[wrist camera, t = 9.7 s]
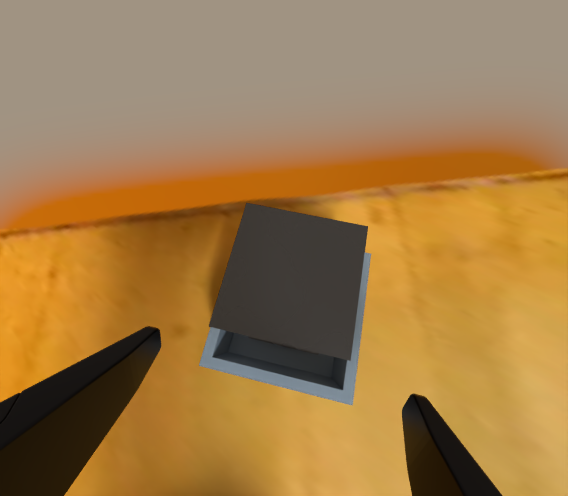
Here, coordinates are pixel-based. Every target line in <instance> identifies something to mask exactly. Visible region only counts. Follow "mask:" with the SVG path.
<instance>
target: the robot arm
mask: <svg viewBox="0 0 568 496" xmlns="http://www.w3.org/2000/svg"><path fill="white" fill-rule="evenodd" d="M160 348H161V337H160V330H159V329H158V328H154V327H150V326H148V327H145V328H143V329H141V330H139V331H137V332H135V333H133V334H131V335H130V336H128V337H126V338H124V339H122V340H120V341H118V342H116V343H114V344H112V345H110V346H108V347H106V348H104V349H103V350H101V351H99V352H97V353H95V354H93V355H91V356H89V357H87V358H85V359H83V360H81V361H79V362H77V363H76V364H74V365H72V366H70V367H68V368H66V369H64V370H62V371H60V372H58V373H56V374H54V375H52V376H50V377H49V378H47V379H45V380H43V381H41V382H39V383H37V384H35V385H33V386H31V387H29V388H27V389H25V390H23V391H22V392H21V393H17V394H16V395H14V396H12V397H10V398H8V399H6V400H4V401H2V402H0V496H64V495H65V494H66V492H67V491H68V489H69V488H70V486H71V485H72V484H73V482H74V481H75V479H76V478H77V476H78V475H79V473H80V472H81V471H82V469H83V468H84V466H85V465H86V463H87V462H88V461H89V459H90V458H91V456H92V455H93V453H94V452H95V450H96V449H97V448H98V446H99V445H100V443H101V442H102V440H103V439H104V438H105V436H106V435H107V433H108V432H109V430H110V429H111V427H112V426H113V425H114V423H115V422H116V420H117V419H118V417H119V416H120V414H121V413H122V412H123V410H124V409H125V407H126V406H127V404H128V403H129V402H130V400H131V399H132V397H133V396H134V394H135V393H136V391H137V389H138V388H139V386H140V384H141V383H142V381H143V379H144V377H145V375H146V374H147V372H148V370H149V368H150V367H151V365H152V363H153V361H154V360H155V358H156V356H157V354H158V352H159V351H160ZM402 421H403V431H404V442H405V452H406V462H407V470H408V475H409V481H410V486H411V491H412V496H502V494H501V493H500V492H499V491H498V489H497V488H496V487H495V485H494V484H493V483H492V482H491V480H490V479H489V478H488V476H487V475H486V474H485V473H484V471H483V470H482V469H481V467H480V466H479V465H478V464H477V462H476V461H475V460H474V458H473V457H472V456H471V454H470V453H469V452H468V451H467V449H466V448H465V447H464V445H463V444H462V443H461V442H460V440H459V439H458V438H457V436H456V435H455V434H454V433H453V431H452V430H451V429H450V427H449V426H448V425H447V424H446V422H445V421H444V420H443V418H442V417H441V416H440V415H439V413H438V412H437V411H436V409H435V408H434V407H433V406H432V404H431V403H430V402H429V400H428V399H427V398H426V397H424V396H421V395H417V394H411V395H410V397H409V398H408V400H407V402H406V403H405V405H404V407H403V409H402Z"/></svg>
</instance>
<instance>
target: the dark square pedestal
mask: <svg viewBox="0 0 568 496" xmlns="http://www.w3.org/2000/svg"><path fill="white" fill-rule="evenodd" d="M367 231H368V226H363V225H358V224H353V223H348V222H342V221H337V220H332V219H327V218H322V217H317V216H312V215H306V214H301V213H296V212H291V211H286V210H281V209H276V208H270V207H265V206H260V205H255V204H250V203H246V206H245V210H244V213H243V216H242V219H241V223H240V226H239V229H238V232H237V236H236V239H235V242H234V245H233V249H232V252H231V255H230V259H229V262H228V265H227V268H226V272H225V275H224V278H223V281H222V285H221V288H220V291H219V295H218V298H217V301H216V304H215V308H214V311H213V314H212V317H211V321H210V324H209V327H213V328H217V329H221V330H225V331H229V332H233V333H237V334H242V335H246V336H248V338H251V339H255V340H259V341H263V342H267V343H271V344H275V345H280V346H284V347H288V348H292V349H296V350H300V351H304V352H308V353H312V354H317V355H318V354H319V353H320V354H324V355H328V356H332V357H336V358H340V359H345V360H349V361H351V354H352V347H353V339H354V331H355V323H356V316H357V308H358V300H359V292H360V285H361V277H362V269H363V262H364V254H365V246H366V238H367Z"/></svg>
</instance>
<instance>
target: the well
mask: <svg viewBox="0 0 568 496" xmlns="http://www.w3.org/2000/svg"><path fill="white" fill-rule="evenodd" d="M370 257H371V254H369V253H365V254H364V262H363V269H362V277H361V285H360V292H359V300H358V308H357V316H356V323H355V331H354V339H353V347H352V354H351V361H349V360H345V359H340V358H336V357H332V356H328V355H324V354H320V353H319V354H318V355H317V354H312V353H308V352H304V351H300V350H296V349H292V348H288V347H284V346H280V345H275V344H271V343H267V342H263V341H259V340H255V339H251V338H248V336H246V335H242V334H237V333H233V332H229V331H225V330H221V329H217V328H213V327H211V328H210V331H209V334H208V338H207V341H206V344H205V347H204V351H203V354H202V357H201V361H200V364H199V366H202V367H206V368H210V369H214V370H218V371H222V372H225V373H229V374H233V375H237V376H241V377H245V378H249V379H252V380H256V381H260V382H264V383H268V384H272V385H276V386H279V387H283V388H287V389H291V390H295V391H299V392H303V393H306V394H310V395H314V396H318V397H322V398H326V399H330V400H334V401H337V402H341V403H345V404H349V405H353V397H354V389H355V381H356V372H357V364H358V356H359V348H360V340H361V331H362V323H363V315H364V307H365V299H366V290H367V282H368V274H369V266H370Z"/></svg>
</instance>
